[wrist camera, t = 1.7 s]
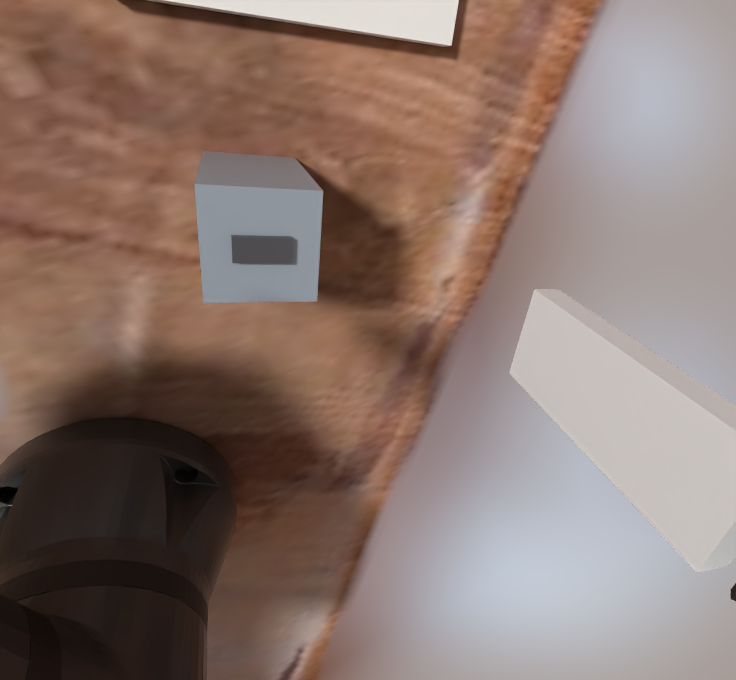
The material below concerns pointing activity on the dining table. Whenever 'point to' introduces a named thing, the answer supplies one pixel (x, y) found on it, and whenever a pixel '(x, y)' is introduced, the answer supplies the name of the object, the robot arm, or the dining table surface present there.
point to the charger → (257, 228)
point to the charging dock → (351, 16)
